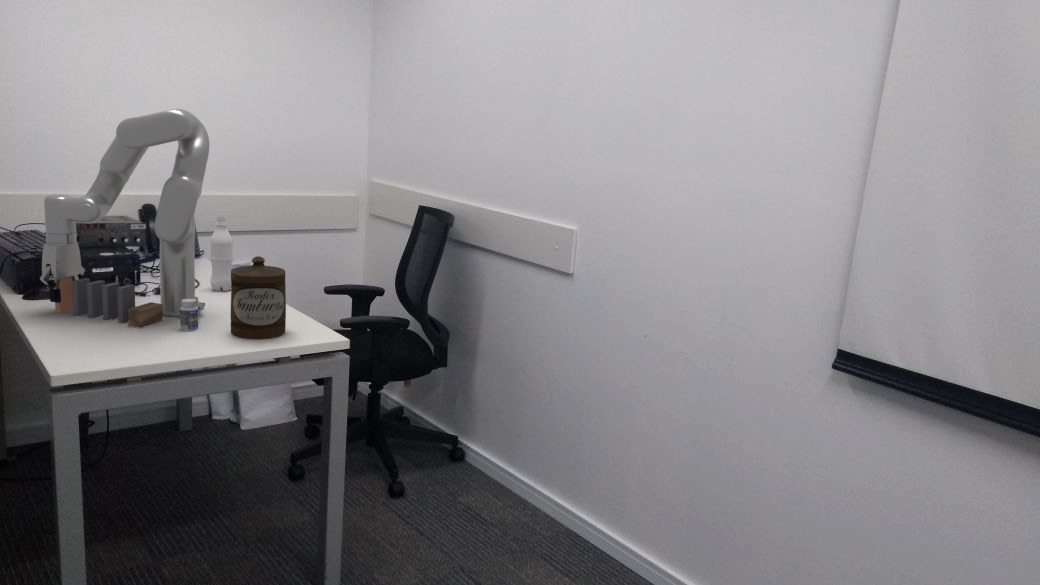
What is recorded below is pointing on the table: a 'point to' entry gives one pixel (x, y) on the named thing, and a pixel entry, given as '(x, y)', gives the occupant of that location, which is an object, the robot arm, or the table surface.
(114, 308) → the domino
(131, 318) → the brown wooden block
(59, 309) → the domino
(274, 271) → the wooden container
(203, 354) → the table surface
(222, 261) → the water bottle
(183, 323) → the pill bottle
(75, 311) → the domino
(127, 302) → the domino
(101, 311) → the domino
